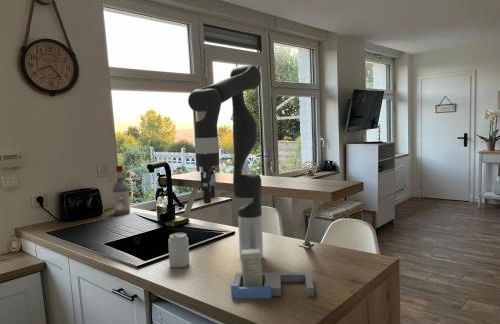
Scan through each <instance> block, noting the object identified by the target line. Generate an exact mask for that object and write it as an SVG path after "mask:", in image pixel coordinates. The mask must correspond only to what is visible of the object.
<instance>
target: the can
mask: <svg viewBox="0 0 500 324" xmlns="http://www.w3.org/2000/svg"><path fill="white" fill-rule="evenodd" d="M167 241H168V242H167V243H168V246H167V247H168V259H169V261H168V262H169V266H170V267H172V268H173V269H182V268H185V267H187V266H188V265H189V264H190V249H189V245H190V244H189V237H188V236H187V233H184V232H175V233H172V234H169V238H168V239H167Z"/></svg>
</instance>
